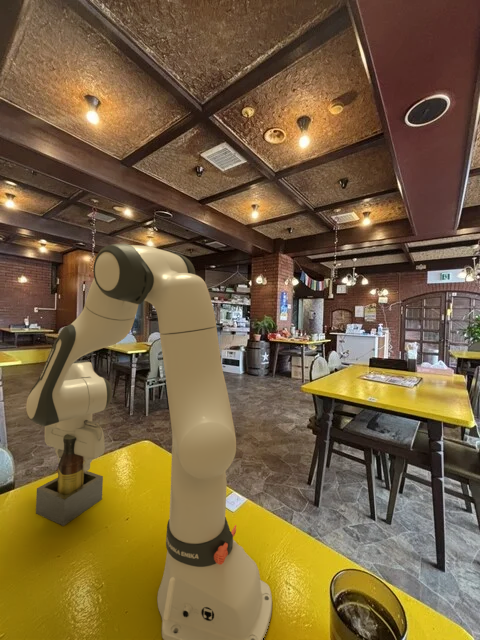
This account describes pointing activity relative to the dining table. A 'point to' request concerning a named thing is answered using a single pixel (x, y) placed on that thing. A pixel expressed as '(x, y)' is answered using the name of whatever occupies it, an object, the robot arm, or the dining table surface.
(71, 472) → the sauce bottle
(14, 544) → the dining table surface
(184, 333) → the robot arm
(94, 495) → the condiment sleeve
